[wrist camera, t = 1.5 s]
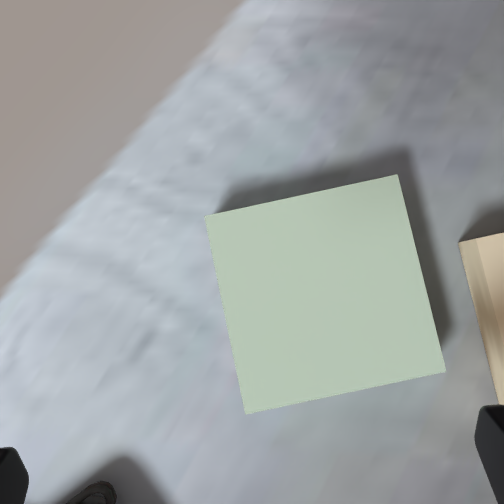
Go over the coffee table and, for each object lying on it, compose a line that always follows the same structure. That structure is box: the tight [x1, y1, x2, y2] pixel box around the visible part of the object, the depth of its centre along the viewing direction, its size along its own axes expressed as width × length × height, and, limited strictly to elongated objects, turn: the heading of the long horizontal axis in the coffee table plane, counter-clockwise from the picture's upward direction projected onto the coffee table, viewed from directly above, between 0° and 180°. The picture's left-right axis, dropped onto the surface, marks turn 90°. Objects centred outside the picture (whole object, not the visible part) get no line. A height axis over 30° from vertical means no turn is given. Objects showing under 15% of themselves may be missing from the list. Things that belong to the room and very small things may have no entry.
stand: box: [204, 174, 446, 414], centre depth 23 cm, size 10×10×2 cm
